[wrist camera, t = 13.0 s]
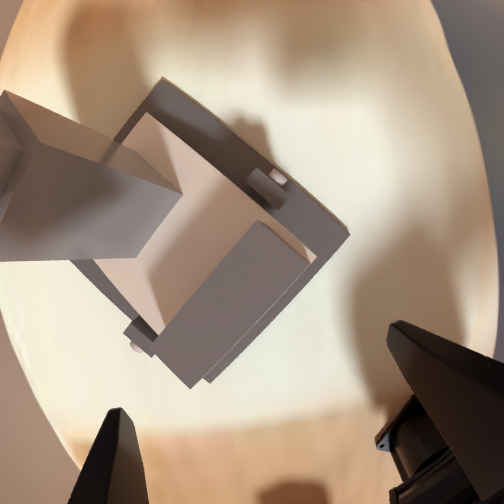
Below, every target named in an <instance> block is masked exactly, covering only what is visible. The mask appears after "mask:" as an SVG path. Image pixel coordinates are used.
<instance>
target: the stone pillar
mask: <svg viewBox="0 0 504 504" xmlns="http://www.w3.org/2000/svg"><path fill="white" fill-rule="evenodd" d="M182 196H183V194H182V193H181V192H179V191H178V190H177V189H176V188H175V187H174V186H173V185H172V184H171V183H170V182H168V181H167V180H166V179H165V178H164V177H163V176H162V175H161V174H160V173H159V172H157V171H156V170H155V169H154V168H153V167H152V166H151V165H150V164H149V163H148V162H147V161H145V160H144V159H143V158H142V157H141V156H140V155H139V154H138V153H137V152H136V151H134V150H132V149H130V148H128V147H126V146H124V145H122V144H120V143H118V142H116V141H114V140H112V139H110V138H108V137H106V136H104V135H102V134H100V133H98V132H96V131H93V130H91V129H89V128H87V127H85V126H83V125H81V124H79V123H77V122H75V121H72V120H70V119H68V118H66V117H64V116H62V115H60V114H57V113H55V112H53V111H51V110H49V109H47V108H44V107H42V106H40V105H38V104H36V103H33V102H31V101H29V100H27V99H24V98H22V97H20V96H18V95H15V94H13V93H11V92H9V91H6V90H4V91H3V93H2V95H1V96H0V262H6V261H44V260H81V259H117V258H136V257H137V256H138V254H139V253H140V251H141V250H142V249H143V247H144V246H145V245H146V243H147V242H148V240H149V239H150V238H151V236H152V235H153V234H154V232H155V231H156V230H157V228H158V227H159V226H160V224H161V223H162V222H163V220H164V219H165V218H166V216H167V215H168V214H169V212H170V211H171V210H172V208H173V207H174V206H175V205H176V203H177V202H178V201H179V199H180V198H181V197H182Z"/></svg>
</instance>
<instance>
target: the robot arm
mask: <svg viewBox="0 0 504 504" xmlns="http://www.w3.org/2000/svg"><path fill="white" fill-rule="evenodd" d="M386 342H387V346H388V348H389V350H390V352H391V354H392V355H393V357H394V359H395V361H396V363H397V365H398V367H399V369H400V371H401V372H402V374H403V376H404V378H405V380H406V381H407V383H408V384H409V386H410V387H411V389H412V390H413V392H414V393H415V395H413V396H412V397H411V399H410V400H409V402H408V403H407V404H406V406H405V407H404V408H403V410H402V411H401V413H400V414H399V415H398V416H397V418H396V419H395V420H394V422H393V423H392V424H391V426H390V427H389V428H388V429H387V431H386V432H385V433H384V434H383V436H382V437H381V438H380V439H379V440H378V442H377V443H376V447H377V449H378V450H382V451H387V452H390V453H391V455H392V458H393V460H394V462H395V465H396V467H397V469H398V472H399V474H400V477H401V479H402V481H403V483H402V484H400V485H399V486H397V487H394V488H393V489H391V490H389V495H390V498H389V500H390V504H504V363H502V362H499V361H497V360H494V359H492V358H490V357H487V356H484V355H482V354H480V353H478V352H475V351H473V350H471V349H468V348H466V347H464V346H461V345H459V344H457V343H454V342H452V341H450V340H447V339H445V338H442V337H440V336H438V335H435V334H433V333H431V332H428V331H426V330H424V329H421V328H419V327H417V326H414V325H412V324H410V323H407V322H405V321H403V320H397V321H395V322H393V323H391V324H390V325H389V329H388V334H387V339H386ZM417 398H418V399H417ZM416 399H417V400H416ZM381 444H382V445H381ZM67 504H149V500H148V494H147V487H146V480H145V473H144V467H143V462H142V458H141V454H140V449H139V445H138V440H137V436H136V431H135V426H134V423H133V421H132V420H131V418H130V417H129V416H128V415H127V413H126V412H125V411H124V410H123V409H122V408H121V407H119V408H113V409H110V410H109V411H108V413H107V415H106V417H105V419H104V421H103V423H102V425H101V428H100V430H99V432H98V434H97V436H96V438H95V441H94V443H93V445H92V447H91V450H90V452H89V454H88V456H87V459H86V461H85V463H84V465H83V468H82V470H81V472H80V475H79V477H78V479H77V482H76V484H75V486H74V489H73V491H72V493H71V498H70V499H69V501H68V503H67Z"/></svg>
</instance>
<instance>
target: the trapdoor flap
mask: <svg viewBox="0 0 504 504" xmlns="http://www.w3.org/2000/svg"><path fill="white" fill-rule="evenodd" d="M122 145H124V146H126V147H128V148H130V149H132V150H134V151H136V152H137V153H138V154H139V155H140V156H141V157H142V158H143V159H144V160H145V161H147V162H148V163H149V164H150V165H151V166H152V167H153V168H154V169H155V170H156V171H157V172H159V173H160V174H161V175H162V176H163V177H164V178H165V179H166V180H167V181H168V182H170V183H171V184H172V185H173V186H174V187H175V188H176V189H177V190H178V191H179V192H181V193H182V194H183V196H182V197H181V198H180V199H179V201H178V202H177V203H176V205H175V206H174V207H173V208H172V210H171V211H170V212H169V214H168V215H167V216H166V218H165V219H164V220H163V222H162V223H161V224H160V226H159V227H158V228H157V230H156V231H155V232H154V234H153V235H152V236H151V238H150V239H149V240H148V242H147V243H146V245H145V246H144V247H143V249H142V250H141V251H140V253H139V254H138V256H137V257H136V258H117V259H93V260H94V261H95V262H96V264H97V265H98V266H99V267H100V269H101V270H102V271H103V272H104V274H105V275H106V276H107V277H108V279H109V280H110V281H111V282H112V283H113V285H114V286H115V287H116V288H117V289H118V290H119V292H120V293H121V294H122V295H123V296H124V298H125V299H126V300H127V301H128V302H129V303H130V304H131V306H132V307H133V308H134V309H135V310H136V311H137V312H138V313H139V315H140V316H141V317H142V318H143V319H144V320H145V321H146V322H147V323H148V324H149V326H150V327H151V328H152V329H153V330H154V331H155V332H156V333H157V334H158V335H159V336H158V337H157V338H156V339H155V341H154V342H153V343H152V344H151V345H150V347H149V348H150V349H151V350H152V351H153V352H154V353H155V354H156V355H157V356H158V357H159V359H160V360H161V361H162V362H163V363H164V364H165V365H166V366H167V367H168V368H169V369H170V370H171V371H172V372H173V373H174V374H175V375H176V376H177V377H178V378H179V379H180V380H181V381H182V382H183V383H184V384H185V385H186V386H187V387H188V388H189V389H191V388H192V387H193V386H194V385H195V384H196V383H197V382H198V381H200V380H201V379H202V378H203V377H204V376H205V375H206V374H207V373H208V372H209V371H210V370H211V369H212V368H213V367H214V366H215V365H216V364H217V363H218V362H219V361H220V360H221V359H222V358H223V357H224V356H225V355H226V354H227V353H228V352H229V351H230V350H231V349H232V348H233V347H234V346H235V345H236V344H237V342H238V341H239V340H240V339H241V338H242V337H243V336H244V335H245V334H246V333H247V332H248V331H249V330H250V329H251V328H252V327H253V326H254V325H255V324H256V323H257V322H258V321H259V319H260V318H261V317H262V316H263V315H264V314H265V313H266V312H267V311H268V310H269V309H270V308H271V307H272V306H273V305H274V303H275V302H276V301H277V300H278V299H279V298H280V297H281V296H282V295H283V294H284V293H285V292H286V291H287V289H288V288H289V287H290V286H291V285H292V284H293V283H294V282H295V281H296V280H297V278H298V277H299V276H300V275H301V274H302V273H303V272H304V271H305V270H306V268H307V267H308V266H309V265H310V264H311V263H312V262H313V261H314V260H315V258H316V257H317V256H316V255H315V254H314V253H313V252H311V251H310V250H309V249H308V248H307V247H306V246H305V245H304V244H303V243H301V242H300V241H299V240H298V239H297V238H296V237H295V236H294V235H292V234H291V233H290V232H289V231H288V230H287V229H286V228H285V227H283V226H282V225H281V224H280V223H279V222H278V221H277V220H275V219H274V218H273V217H272V216H271V215H270V214H269V213H267V212H266V211H265V210H264V209H263V208H262V207H261V206H259V205H258V204H257V203H256V202H255V201H254V200H252V199H251V198H250V197H249V196H248V195H247V194H246V193H244V192H243V191H242V190H241V189H240V188H238V187H237V186H236V185H235V184H234V183H233V182H231V181H230V180H229V179H228V178H227V177H226V176H224V175H223V174H222V173H221V172H220V171H218V170H217V169H216V168H215V167H214V166H212V165H211V164H210V163H209V162H208V161H206V160H205V159H204V158H203V157H202V156H200V155H199V154H198V153H197V152H196V151H194V150H193V149H192V148H191V147H190V146H188V145H187V144H186V143H185V142H183V141H182V140H181V139H180V138H179V137H177V136H176V135H175V134H174V133H172V132H171V131H170V130H169V129H167V128H166V127H165V126H164V125H162V124H161V123H160V122H159V121H157V120H156V119H155V118H154V117H152V116H151V115H150V114H148V113H147V112H146V113H145V114H144V116H143V117H142V118H141V119H140V120H139V122H138V123H137V124H136V125H135V127H134V128H133V129H132V131H131V132H130V133H129V134H128V136H127V137H126V138H125V140H124V141H123V142H122Z"/></svg>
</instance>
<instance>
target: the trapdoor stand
mask: <svg viewBox="0 0 504 504" xmlns="http://www.w3.org/2000/svg"><path fill="white" fill-rule="evenodd" d="M146 112H147V113H148V114H150V115H151V116H152V117H154V118H155V119H156V120H157V121H159V122H160V123H161V124H162V125H164V126H165V127H166V128H167V129H169V130H170V131H171V132H172V133H174V134H175V135H176V136H177V137H179V138H180V139H181V140H182V141H183V142H185V143H186V144H187V145H188V146H190V147H191V148H192V149H193V150H194V151H196V152H197V153H198V154H199V155H200V156H202V157H203V158H204V159H205V160H206V161H208V162H209V163H210V164H211V165H212V166H214V167H215V168H216V169H217V170H218V171H220V172H221V173H222V174H223V175H224V176H226V177H227V178H228V179H229V180H230V181H231V182H233V183H234V184H235V185H236V186H237V187H238V188H240V189H241V190H242V191H243V192H244V193H246V194H247V195H248V196H249V197H250V198H251V199H252V200H254V201H255V202H256V203H257V204H258V205H259V206H261V207H262V208H263V209H264V210H265V211H266V212H267V213H269V214H270V215H271V216H272V217H273V218H274V219H275V220H277V221H278V222H279V223H280V224H281V225H282V226H283V227H285V228H286V229H287V230H288V231H289V232H290V233H291V234H292V235H294V236H295V237H296V238H297V239H298V240H299V241H300V242H301V243H303V244H304V245H305V246H306V247H307V248H308V249H309V250H310V251H311V252H313V253H314V254H315V255H316V256H317V257H316V258H315V260H314V261H313V262H312V263H311V264H310V265H309V266H308V267H307V268H306V270H305V271H304V272H303V273H302V274H301V275H300V276H299V277H298V278H297V280H296V281H295V282H294V283H293V284H292V285H291V286H290V287H289V288H288V289H287V291H286V292H285V293H284V294H283V295H282V296H281V297H280V298H279V299H278V300H277V301H276V302H275V303H274V305H273V306H272V307H271V308H270V309H269V310H268V311H267V312H266V313H265V314H264V315H263V316H262V317H261V318H260V319H259V321H258V322H257V323H256V324H255V325H254V326H253V327H252V328H251V329H250V330H249V331H248V332H247V333H246V334H245V335H244V336H243V337H242V338H241V339H240V340H239V341H238V342H237V344H236V345H235V346H234V347H233V348H232V349H231V350H230V351H229V352H228V353H227V354H226V355H225V356H224V357H223V358H222V359H221V360H220V361H219V362H218V363H217V364H216V365H215V366H214V367H213V368H212V369H211V370H210V371H209V372H208V373H207V374H206V375H205V376H204V377H203V379H205V380H206V381H207V382H209V383H211V382H212V381H213V380H214V379H215V378H216V377H217V376H218V375H219V374H220V373H221V372H222V371H223V370H224V369H225V368H226V367H227V366H229V365H230V364H231V363H232V362H233V361H234V360H235V359H236V358H237V357H238V356H239V355H240V354H241V353H242V352H243V351H244V350H245V348H246V347H247V346H248V345H249V344H250V343H251V342H252V341H253V340H254V339H255V338H256V337H257V336H258V335H259V334H260V333H261V332H262V331H263V330H264V329H265V328H266V327H267V326H268V325H269V324H270V323H271V322H272V321H273V320H274V319H275V318H276V316H277V315H278V314H279V313H280V312H281V311H282V310H283V309H284V308H285V307H286V306H287V305H288V304H289V303H290V302H291V301H292V299H293V298H294V297H295V296H296V295H297V294H298V293H299V292H300V291H301V290H302V289H303V288H304V286H305V285H306V284H307V283H308V282H309V281H310V280H311V279H312V278H313V277H314V275H315V274H316V273H317V272H318V271H319V270H320V269H321V268H322V267H323V265H324V264H325V263H326V262H327V261H328V260H329V259H330V258H331V256H332V255H333V254H334V253H335V252H336V251H337V250H338V248H339V247H340V246H341V245H342V244H343V243H344V242H345V240H346V239H347V238H348V237H349V236H350V235H351V234H349V233H348V232H347V231H346V230H345V229H344V228H343V227H342V226H341V225H340V224H339V223H338V222H337V221H336V220H335V219H333V218H332V217H331V216H330V215H329V214H328V213H327V212H326V211H325V210H324V209H322V208H321V207H320V206H319V205H318V204H317V203H316V202H315V201H314V200H312V199H311V198H310V197H309V196H308V195H307V194H306V193H305V192H303V191H302V190H301V189H300V188H299V187H298V186H297V185H295V184H294V183H293V182H292V181H291V180H290V179H289V178H287V177H286V176H285V175H284V174H283V173H282V172H280V171H279V170H278V169H277V168H276V167H274V166H273V165H272V164H271V163H270V162H268V161H267V160H266V159H265V158H264V157H262V156H261V155H260V154H259V153H258V152H256V151H255V150H254V149H253V148H252V147H250V146H249V145H248V144H247V143H245V142H244V141H243V140H242V139H240V138H239V137H238V136H237V135H235V134H234V133H233V132H232V131H230V130H229V129H228V128H226V127H225V126H224V125H223V124H221V123H220V122H219V121H217V120H216V119H215V118H214V117H212V116H211V115H210V114H208V113H207V112H206V111H204V110H203V109H202V108H200V107H199V106H198V105H196V104H195V103H194V102H192V101H191V100H190V99H188V98H187V97H186V96H184V95H183V94H182V93H180V92H179V91H177V90H176V89H175V88H173V87H172V86H170V85H169V84H168V83H166V82H165V81H163V80H162V81H161V82H160V83H159V84H158V85H157V86H156V87H155V88H154V90H153V91H152V92H151V93H150V94H149V95H148V97H147V98H146V99H145V100H144V101H143V103H142V104H141V105H140V106H139V107H138V109H137V110H136V111H135V112H134V114H133V115H132V116H131V117H130V119H129V120H128V121H127V123H126V124H125V125H124V126H123V128H122V129H121V130H120V132H119V133H118V134H117V136H116V137H115V138H114V141H116V142H118V143H120V144H122V142H123V141H124V140H125V138H126V137H127V136H128V134H129V133H130V132H131V131H132V129H133V128H134V127H135V125H136V124H137V123H138V122H139V120H140V119H141V118H142V117H143V116H144V114H145V113H146ZM70 261H71V262H72V263H73V264H74V265H75V266H76V267H77V268H78V269H79V270H80V271H81V272H82V273H83V274H84V275H85V276H86V277H87V278H88V279H89V280H90V281H91V282H92V283H93V284H94V285H95V286H96V287H97V288H98V289H99V290H100V291H101V292H102V293H103V294H104V295H105V296H106V297H107V298H108V299H109V300H110V301H111V302H113V303H114V304H115V305H116V306H117V307H118V308H119V309H120V310H121V311H122V312H123V313H124V314H126V315H127V316H128V317H129V318H130V319H131V320H132V322H131V323H130V324H129V326H128V327H127V328H126V330H125V331H124V332H123V334H125V335H126V336H127V337H128V338H129V339H130V340H131V342H130V346H131V347H132V349H133V350H134V351H136V352H139V353H141V352H142V351H144V352H145V353H147V354H148V355H149V356H150V357H151V358H152V357H153V355H154V354H155V353H154V352H153V351H152V350H151V349H150V348H149V347H150V345H151V344H152V343H153V342H154V341H155V339H156V338H157V337H158V336H159V335H158V334H157V333H156V332H155V331H154V330H153V329H152V328H151V327H150V326H149V324H148V323H147V322H146V321H145V320H144V319H143V318H142V317H141V316H140V315H139V313H138V312H137V311H136V310H135V309H134V308H133V307H132V306H131V304H130V303H129V302H128V301H127V300H126V299H125V298H124V296H123V295H122V294H121V293H120V292H119V290H118V289H117V288H116V287H115V286H114V285H113V283H112V282H111V281H110V280H109V279H108V277H107V276H106V275H105V274H104V272H103V271H102V270H101V269H100V267H99V266H98V265H97V264H96V262H95V261H94V260H93V259H81V260H70Z"/></svg>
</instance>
